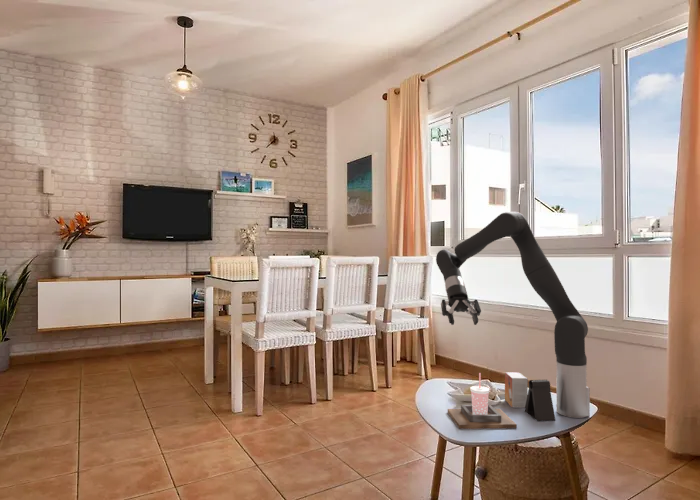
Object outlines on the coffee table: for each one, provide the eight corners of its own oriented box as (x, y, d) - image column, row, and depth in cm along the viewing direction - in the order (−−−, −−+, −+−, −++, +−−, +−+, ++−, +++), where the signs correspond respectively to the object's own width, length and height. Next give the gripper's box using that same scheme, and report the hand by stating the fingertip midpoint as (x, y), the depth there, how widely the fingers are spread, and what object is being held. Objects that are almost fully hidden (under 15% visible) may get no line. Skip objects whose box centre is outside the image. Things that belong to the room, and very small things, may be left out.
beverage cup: (471, 411, 147) (471, 369, 147) (490, 414, 144) (490, 371, 144) (468, 417, 141) (468, 374, 141) (488, 420, 139) (488, 376, 139)
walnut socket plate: (499, 412, 150) (499, 402, 150) (516, 428, 136) (516, 417, 136) (447, 412, 149) (447, 403, 149) (459, 428, 135) (459, 418, 135)
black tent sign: (555, 421, 142) (555, 384, 142) (537, 421, 141) (537, 384, 142) (541, 411, 151) (541, 376, 151) (524, 411, 150) (524, 376, 151)
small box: (504, 400, 162) (504, 371, 162) (519, 400, 162) (519, 372, 162) (511, 407, 154) (511, 377, 154) (527, 408, 154) (527, 378, 154)
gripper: (439, 283, 169) (447, 317, 158) (475, 283, 170) (486, 317, 158) (436, 296, 174) (443, 329, 163) (471, 296, 175) (481, 329, 163)
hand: (464, 323), depth 161 cm, fingers open, 8 cm apart
